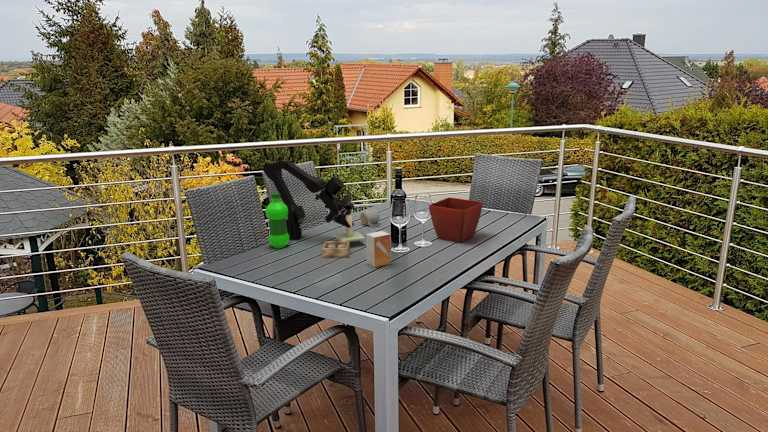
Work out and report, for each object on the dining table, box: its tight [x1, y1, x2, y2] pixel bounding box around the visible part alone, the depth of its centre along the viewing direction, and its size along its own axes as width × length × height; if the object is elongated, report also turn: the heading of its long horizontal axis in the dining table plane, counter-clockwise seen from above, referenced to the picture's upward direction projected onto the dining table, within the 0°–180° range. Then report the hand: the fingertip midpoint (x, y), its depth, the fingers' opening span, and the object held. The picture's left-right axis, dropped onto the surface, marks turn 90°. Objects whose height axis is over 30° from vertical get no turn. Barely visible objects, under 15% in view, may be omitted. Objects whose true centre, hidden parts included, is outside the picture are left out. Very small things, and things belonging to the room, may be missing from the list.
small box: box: [365, 230, 392, 268], centre depth 226 cm, size 8×6×13 cm
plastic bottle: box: [264, 192, 290, 249], centre depth 251 cm, size 10×10×25 cm
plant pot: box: [428, 197, 484, 244], centre depth 259 cm, size 19×19×17 cm
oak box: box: [321, 240, 351, 259], centre depth 242 cm, size 11×11×4 cm
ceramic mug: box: [359, 208, 381, 228], centre depth 286 cm, size 11×8×8 cm
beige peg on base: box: [333, 213, 366, 243], centre depth 253 cm, size 11×11×11 cm
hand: (351, 226), depth 253 cm, fingers closed on beige peg on base, 3 cm apart
